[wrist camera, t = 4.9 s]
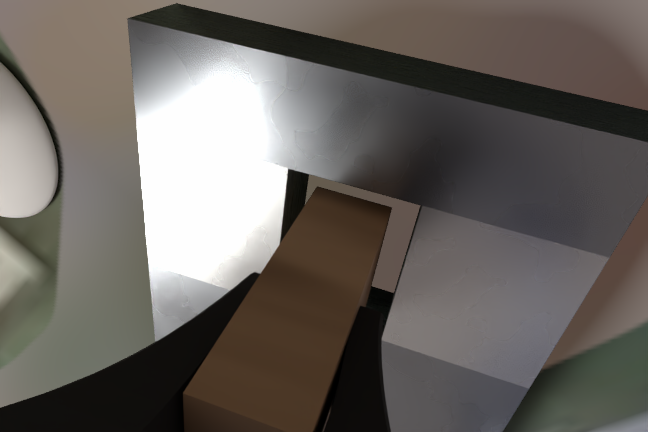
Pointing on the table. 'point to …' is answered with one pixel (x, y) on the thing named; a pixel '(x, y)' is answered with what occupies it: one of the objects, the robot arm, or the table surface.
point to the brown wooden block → (292, 324)
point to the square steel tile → (387, 179)
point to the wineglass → (24, 152)
